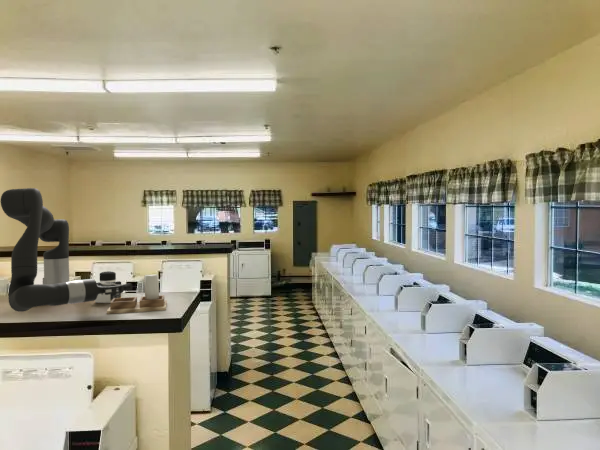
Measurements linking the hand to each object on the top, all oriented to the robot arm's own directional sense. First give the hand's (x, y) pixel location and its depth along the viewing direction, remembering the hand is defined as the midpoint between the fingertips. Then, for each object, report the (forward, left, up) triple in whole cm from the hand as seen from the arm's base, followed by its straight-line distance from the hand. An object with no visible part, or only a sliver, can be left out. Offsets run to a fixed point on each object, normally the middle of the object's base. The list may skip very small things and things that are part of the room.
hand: (126, 285), depth 164 cm
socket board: (+3, +5, -9) cm, 12 cm away
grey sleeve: (+8, +5, -8) cm, 13 cm away
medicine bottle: (-10, +23, -10) cm, 27 cm away
